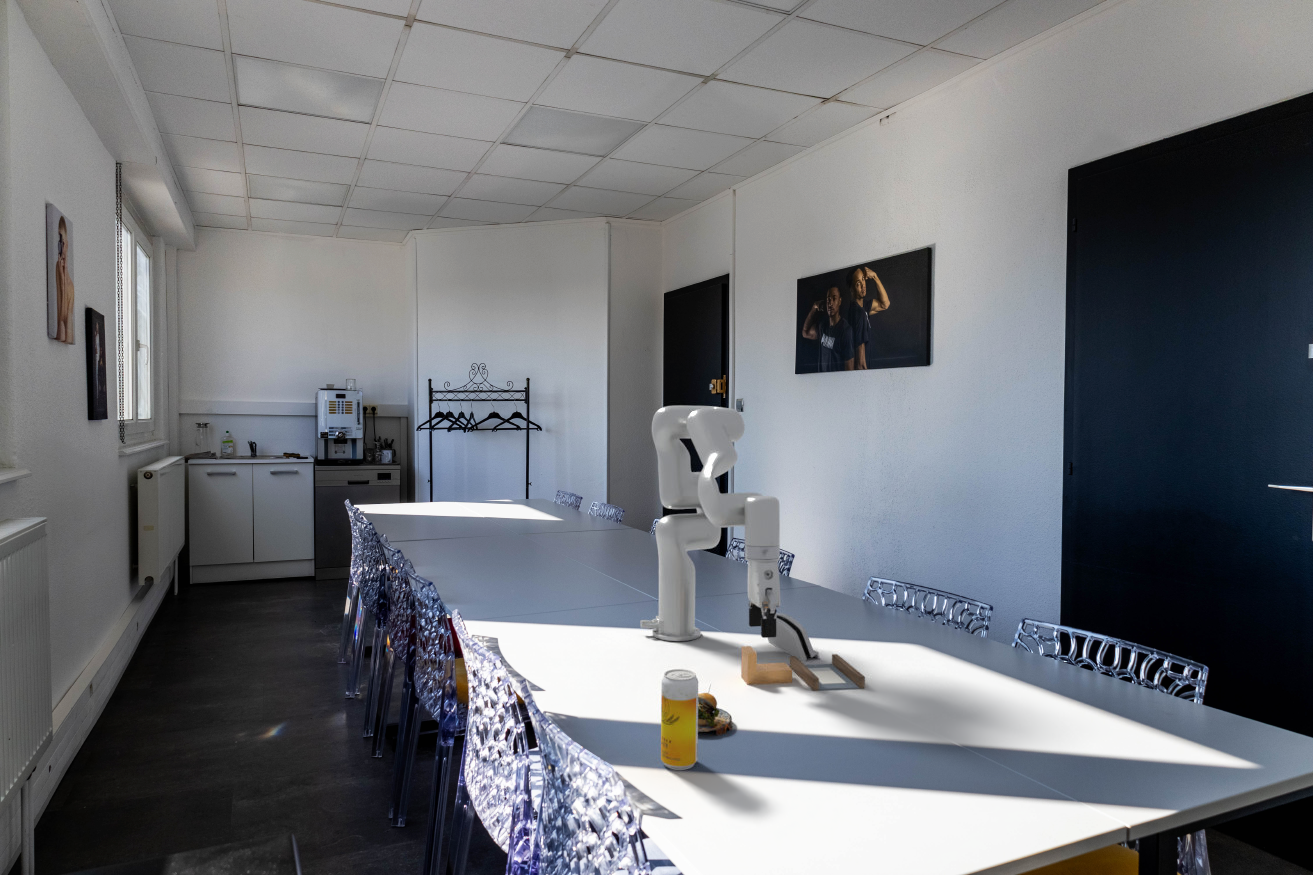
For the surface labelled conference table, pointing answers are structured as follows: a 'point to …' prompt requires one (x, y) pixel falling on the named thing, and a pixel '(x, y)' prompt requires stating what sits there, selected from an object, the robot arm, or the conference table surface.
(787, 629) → the grey slotted curved block
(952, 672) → the conference table surface
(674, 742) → the beer can
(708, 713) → the burger
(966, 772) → the conference table surface
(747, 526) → the robot arm
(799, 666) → the bay walls
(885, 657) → the conference table surface
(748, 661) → the bracket
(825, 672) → the bay mat
